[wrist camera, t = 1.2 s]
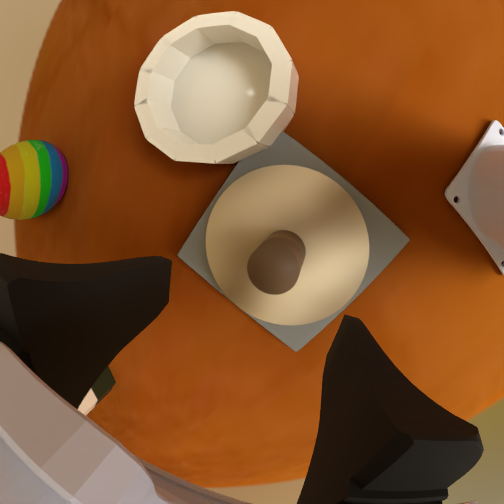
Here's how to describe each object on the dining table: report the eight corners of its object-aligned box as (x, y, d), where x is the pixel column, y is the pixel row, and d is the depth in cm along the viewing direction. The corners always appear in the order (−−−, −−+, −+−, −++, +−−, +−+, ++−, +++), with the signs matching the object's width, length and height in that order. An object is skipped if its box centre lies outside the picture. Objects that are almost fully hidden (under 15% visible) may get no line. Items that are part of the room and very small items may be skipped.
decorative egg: (65, 124, 22) (-13, 126, 13) (84, 190, 24) (0, 210, 15) (34, 163, 25) (-32, 173, 16) (50, 221, 27) (-18, 244, 17)
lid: (400, 240, 17) (418, 261, 12) (295, 345, 21) (286, 382, 17) (270, 131, 17) (251, 121, 13) (184, 255, 21) (152, 275, 17)
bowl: (328, 77, 16) (327, 56, 12) (241, 190, 20) (220, 196, 16) (216, 19, 16) (193, -3, 12) (146, 120, 20) (113, 115, 16)
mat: (406, 236, 17) (410, 239, 16) (298, 345, 22) (296, 352, 21) (271, 123, 18) (268, 121, 17) (183, 251, 22) (176, 255, 21)
